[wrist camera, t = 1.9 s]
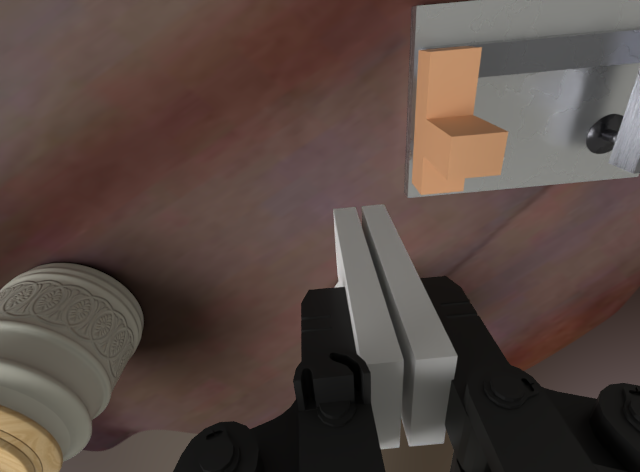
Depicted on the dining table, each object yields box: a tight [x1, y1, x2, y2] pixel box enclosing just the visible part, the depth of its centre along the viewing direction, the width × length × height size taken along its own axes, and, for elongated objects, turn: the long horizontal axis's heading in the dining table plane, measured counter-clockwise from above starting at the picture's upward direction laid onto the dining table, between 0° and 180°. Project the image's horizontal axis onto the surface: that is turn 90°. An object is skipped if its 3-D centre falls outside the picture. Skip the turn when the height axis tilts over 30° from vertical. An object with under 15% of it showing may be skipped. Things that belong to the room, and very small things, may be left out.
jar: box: [0, 263, 144, 472], centre depth 29 cm, size 13×13×18 cm
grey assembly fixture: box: [404, 0, 640, 198], centre depth 24 cm, size 14×20×10 cm
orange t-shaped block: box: [412, 46, 508, 195], centre depth 23 cm, size 9×3×9 cm, turn 4°
